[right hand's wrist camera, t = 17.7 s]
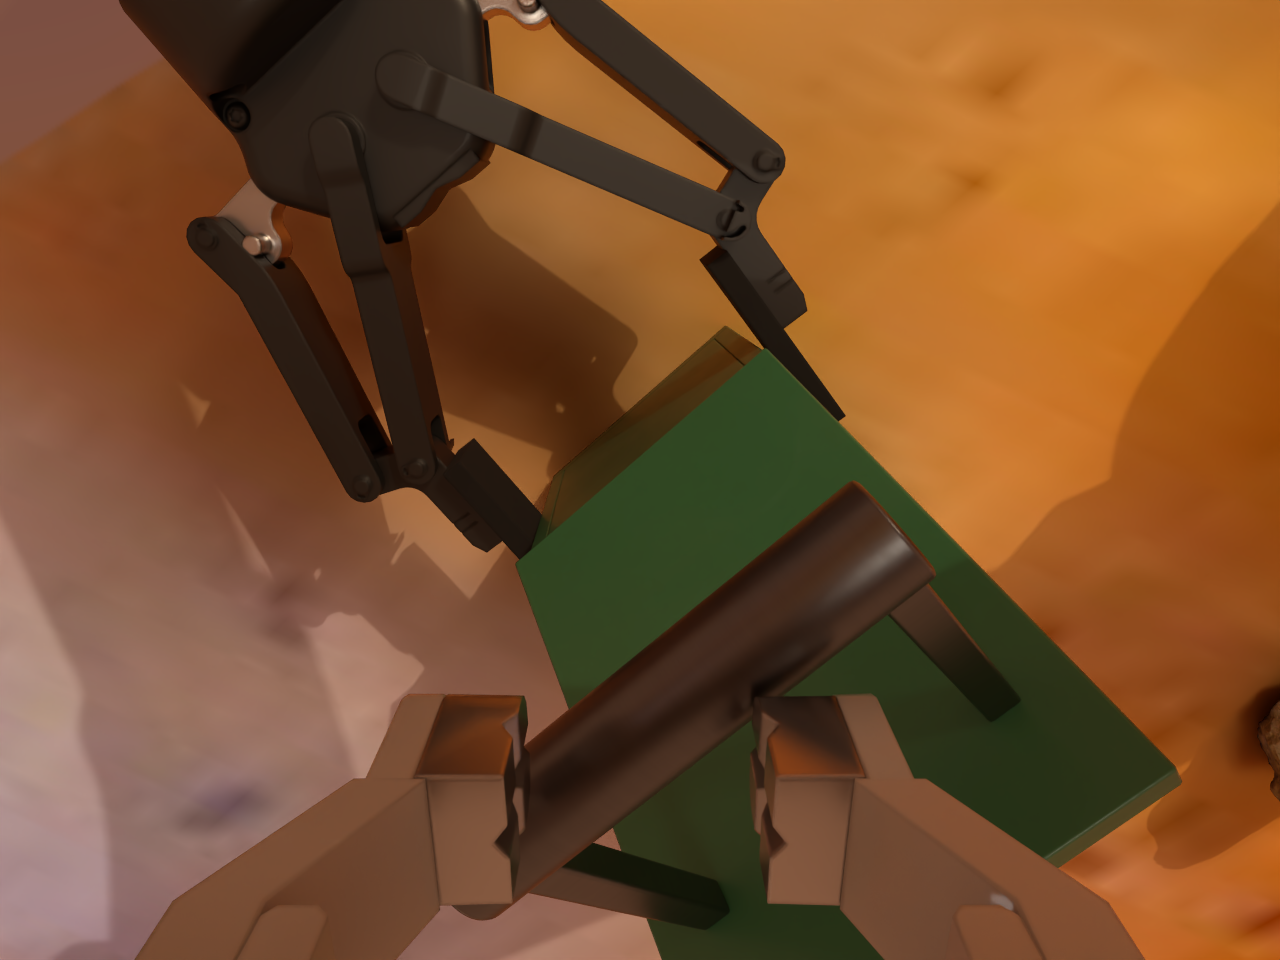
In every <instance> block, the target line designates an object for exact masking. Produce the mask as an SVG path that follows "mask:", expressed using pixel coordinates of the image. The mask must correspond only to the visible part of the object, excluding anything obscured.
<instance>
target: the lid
mask: <svg viewBox="0 0 1280 960" xmlns="http://www.w3.org/2000/svg"><path fill="white" fill-rule="evenodd" d="M515 565H516V568H517V571H518V573H519V576H520V579H521V581H522V584H523V587H524V589H525V592H526V595H527V598H528V600H529V603H530V606H531V608H532V611H533V614H534V616H535V619H536V622H537V624H538V627H539V630H540V633H541V635H542V638H543V641H544V643H545V646H546V649H547V651H548V654H549V657H550V660H551V662H552V665H553V668H554V670H555V673H556V676H557V678H558V681H559V684H560V686H561V689H562V692H563V695H564V697H565V700H566V703H567V705H568V708H569V710H568V711H567V712H565V713H564V714H563V715H562V716H560V717H559V718H558V719H557V720H556V721H554V722H553V723H552V724H551V725H549V726H548V727H547V728H546V729H544V730H543V731H542V732H541V733H540V734H538V735H537V736H536V737H535V738H533V739H532V740H531V741H530V742H528V743H527V744H526V745H525V746H524V747H525V748H526V749H527V751H528V752H529V753H530V798H529V811H528V817H527V824H526V830H525V831H524V832H523V833H522V834H520V835H519V840H520V858H521V859H520V864H519V869H518V875H517V880H516V886H515V891H514V897H513V902H512V903H509V904H475V905H452V906H453V907H454V908H455V909H456V910H458V911H459V912H460V913H462V914H463V915H465V916H467V917H469V918H472V919H475V920H489V919H493V918H496V917H497V916H499V915H500V914H501V913H503V912H504V911H505V910H506V909H508V908H509V907H510V906H512V905H513V904H514V903H515V902H517V901H518V900H519V899H521V898H522V897H523V896H525V895H526V894H527V893H532V894H536V895H541V896H546V897H550V898H555V899H560V900H564V901H569V902H574V903H578V904H583V905H588V906H592V907H597V908H602V909H606V910H611V911H616V912H620V913H625V914H630V915H634V916H639V917H644V918H647V921H648V924H649V926H650V929H651V932H652V934H653V937H654V940H655V942H656V945H657V948H658V951H659V953H660V956H661V959H662V960H884V959H883V957H882V956H881V955H880V954H879V953H878V952H877V951H876V950H875V948H874V947H873V946H872V945H871V944H870V943H869V942H868V940H867V939H866V938H865V937H864V936H863V935H862V934H861V933H860V931H859V930H858V929H857V928H856V927H855V926H854V925H853V923H852V922H851V921H850V920H849V919H848V918H847V917H846V916H845V914H844V913H843V912H842V911H841V910H840V906H839V905H804V904H768V903H767V898H766V892H765V887H764V881H763V876H762V871H761V865H760V860H759V854H760V835H759V834H758V833H757V832H756V831H755V830H754V825H753V819H752V812H751V803H750V780H749V772H750V753H751V751H752V750H753V749H754V748H755V747H756V743H755V738H754V733H753V728H752V714H753V704H754V698H755V697H770V696H832V695H840V694H870V693H871V694H872V695H874V696H875V697H877V699H878V701H879V704H880V706H881V708H882V710H883V712H884V714H885V717H886V719H887V721H888V723H889V725H890V727H891V729H892V732H893V734H894V736H895V738H896V740H897V742H898V745H899V747H900V749H901V751H902V753H903V755H904V757H905V760H906V762H907V764H908V766H909V768H910V770H911V773H912V775H913V777H914V779H927V780H929V781H930V782H932V783H933V784H935V785H936V786H938V787H939V788H940V789H942V790H943V791H945V792H946V793H948V794H949V795H951V796H952V797H954V798H955V799H957V800H958V801H960V802H961V803H963V804H964V805H965V806H967V807H968V808H970V809H971V810H973V811H974V812H976V813H977V814H979V815H980V816H982V817H983V818H985V819H986V820H988V821H989V822H991V823H992V824H993V825H995V826H996V827H998V828H999V829H1001V830H1002V831H1004V832H1005V833H1007V834H1008V835H1010V836H1011V837H1013V838H1014V839H1016V840H1017V841H1019V842H1020V843H1021V844H1023V845H1024V846H1026V847H1027V848H1029V849H1030V850H1032V851H1033V852H1035V853H1036V854H1038V855H1039V856H1041V857H1042V858H1044V859H1045V860H1047V861H1048V862H1049V863H1051V864H1052V865H1054V866H1055V867H1057V868H1059V867H1060V866H1062V865H1063V864H1065V863H1066V862H1068V861H1069V860H1071V859H1072V858H1074V857H1075V856H1077V855H1078V854H1080V853H1081V852H1082V851H1084V850H1085V849H1087V848H1088V847H1090V846H1091V845H1093V844H1094V843H1096V842H1097V841H1099V840H1100V839H1102V838H1103V837H1104V836H1106V835H1107V834H1109V833H1110V832H1112V831H1113V830H1115V829H1116V828H1118V827H1119V826H1121V825H1122V824H1123V823H1125V822H1126V821H1128V820H1129V819H1131V818H1132V817H1134V816H1135V815H1137V814H1138V813H1140V812H1141V811H1143V810H1144V809H1145V808H1147V807H1148V806H1150V805H1151V804H1153V803H1154V802H1156V801H1157V800H1159V799H1160V798H1162V797H1163V796H1165V795H1166V794H1167V793H1169V792H1170V791H1172V790H1173V789H1175V788H1176V787H1178V786H1179V785H1181V783H1182V780H1181V778H1180V776H1179V773H1178V771H1177V769H1176V767H1175V765H1174V764H1173V763H1172V762H1171V761H1170V760H1169V759H1168V758H1167V757H1166V756H1165V755H1164V754H1163V753H1162V752H1161V751H1160V750H1159V749H1158V748H1157V747H1156V746H1155V745H1154V744H1153V743H1152V742H1151V741H1150V740H1149V739H1148V738H1147V737H1146V736H1145V735H1144V734H1143V733H1142V732H1141V731H1140V730H1139V729H1138V728H1137V727H1136V726H1135V725H1134V724H1133V723H1132V721H1131V720H1130V719H1129V718H1128V717H1127V716H1126V715H1125V714H1124V713H1123V712H1122V711H1121V710H1120V709H1119V708H1118V707H1117V706H1116V705H1115V704H1114V703H1113V702H1112V701H1111V700H1110V699H1109V698H1108V697H1107V696H1106V695H1105V694H1104V693H1103V692H1102V691H1101V690H1100V689H1099V688H1098V687H1097V686H1096V685H1095V684H1094V683H1093V682H1092V681H1091V680H1090V679H1089V678H1088V676H1087V675H1086V674H1085V673H1084V672H1083V671H1082V670H1081V669H1080V668H1079V667H1078V666H1077V665H1076V664H1075V663H1074V662H1073V661H1072V660H1071V659H1070V658H1069V657H1068V656H1067V655H1066V654H1065V653H1064V652H1063V651H1062V650H1061V649H1060V648H1059V647H1058V646H1057V645H1056V644H1055V643H1054V642H1053V641H1052V640H1051V639H1050V638H1049V637H1048V636H1047V635H1046V634H1045V633H1044V632H1043V630H1042V629H1041V628H1040V627H1039V626H1038V625H1037V624H1036V623H1035V622H1034V621H1033V620H1032V619H1031V618H1030V617H1029V616H1028V615H1027V614H1026V613H1025V612H1024V611H1023V610H1022V609H1021V608H1020V607H1019V606H1018V605H1017V604H1016V603H1015V602H1014V601H1013V600H1012V599H1011V598H1010V597H1009V596H1008V595H1007V594H1006V593H1005V592H1004V591H1003V590H1002V589H1001V588H1000V587H999V585H998V584H997V583H996V582H995V581H994V580H993V579H992V578H991V577H990V576H989V575H988V574H987V573H986V572H985V571H984V570H983V569H982V568H981V567H980V566H979V565H978V564H977V563H976V562H975V561H974V560H973V559H972V558H971V557H970V556H969V555H968V554H967V553H966V552H965V551H964V550H963V549H962V548H961V547H960V546H959V545H958V544H957V543H956V542H955V541H954V539H953V538H952V537H951V536H950V535H949V534H948V533H947V532H946V531H945V530H944V529H943V528H942V527H941V526H940V525H939V524H938V523H937V522H936V521H935V520H934V519H933V518H932V517H931V516H930V515H929V514H928V513H927V512H926V511H925V510H924V509H923V508H922V507H921V506H920V505H919V504H918V503H917V502H916V501H915V500H914V499H913V498H912V497H911V496H910V494H909V493H908V492H907V491H906V490H905V489H904V488H903V487H902V486H901V485H900V484H899V483H898V482H897V481H896V480H895V479H894V478H893V477H892V476H891V475H890V474H889V473H888V472H887V471H886V470H885V469H884V468H883V467H882V466H881V465H880V464H879V463H878V462H877V461H876V460H875V459H874V458H873V457H872V456H871V455H870V454H869V453H868V452H867V451H866V449H865V448H864V447H863V446H862V445H861V444H860V443H859V442H858V441H857V440H856V439H855V438H854V437H853V436H852V435H851V434H850V433H849V432H848V431H847V430H846V429H845V428H844V427H843V426H842V425H841V424H840V423H839V422H838V421H837V420H836V419H835V418H834V417H833V416H832V415H831V414H830V413H829V412H828V411H827V410H826V409H825V408H824V407H823V406H822V405H821V403H820V402H819V401H818V400H817V399H816V398H815V397H814V396H813V395H812V394H811V393H810V392H809V391H808V390H807V389H806V388H805V387H804V386H803V385H802V384H801V383H800V382H799V381H798V380H797V379H796V378H795V377H794V376H793V375H792V374H791V373H790V372H789V371H788V370H787V369H786V368H785V367H784V366H783V365H782V364H781V363H780V362H779V361H778V360H777V358H776V357H775V356H774V355H773V354H772V353H771V352H770V351H769V350H768V349H766V348H765V349H763V350H762V351H761V352H759V353H758V354H757V355H756V356H755V357H754V358H752V359H751V360H750V361H749V362H748V363H747V364H746V365H744V366H743V367H742V368H741V369H740V370H739V371H737V372H736V373H735V374H734V375H733V376H732V377H730V378H729V379H728V380H727V381H726V382H725V383H724V384H722V385H721V386H720V387H719V388H718V389H717V390H715V391H714V392H713V393H712V394H711V395H710V396H709V397H707V398H706V399H705V400H704V401H703V402H702V403H700V404H699V405H698V406H697V407H696V408H695V409H693V410H692V411H691V412H690V413H689V414H688V415H687V416H685V417H684V418H683V419H682V420H681V421H680V422H678V423H677V424H676V425H675V426H674V427H673V428H671V429H670V430H669V431H668V432H667V433H666V434H665V435H663V436H662V437H661V438H660V439H659V440H658V441H656V442H655V443H654V444H653V445H652V446H651V447H649V448H648V449H647V450H646V451H645V452H644V453H643V454H641V455H640V456H639V457H638V458H637V459H636V460H634V461H633V462H632V463H631V464H630V465H629V466H627V467H626V468H625V469H624V470H623V471H622V472H621V473H619V474H618V475H617V476H616V477H615V478H614V479H612V480H611V481H610V482H609V483H608V484H607V485H606V486H604V487H603V488H602V489H601V490H600V491H599V492H597V493H596V494H595V495H594V496H593V497H592V498H590V499H589V500H588V501H587V502H586V503H585V504H584V505H582V506H581V507H580V508H579V509H578V510H577V511H575V512H574V513H573V514H572V515H571V516H570V517H568V518H567V519H566V520H565V521H564V522H563V523H562V524H560V525H559V526H558V527H557V528H556V529H555V530H553V531H552V532H551V533H550V534H549V535H548V536H546V537H545V538H544V539H543V540H542V541H541V542H540V543H538V544H537V545H536V546H535V547H534V548H533V549H531V550H530V551H529V552H528V553H527V554H526V555H524V556H523V557H522V558H521V559H520V560H519V561H518V562H516V564H515ZM611 828H613V829H614V832H615V835H616V837H617V840H618V843H619V845H620V848H621V851H619V850H615V849H612V848H609V847H605V846H602V845H599V844H596V843H593V842H594V841H596V840H597V839H598V838H600V837H601V836H602V835H603V834H605V833H606V832H607V831H609V830H610V829H611Z"/></svg>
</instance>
